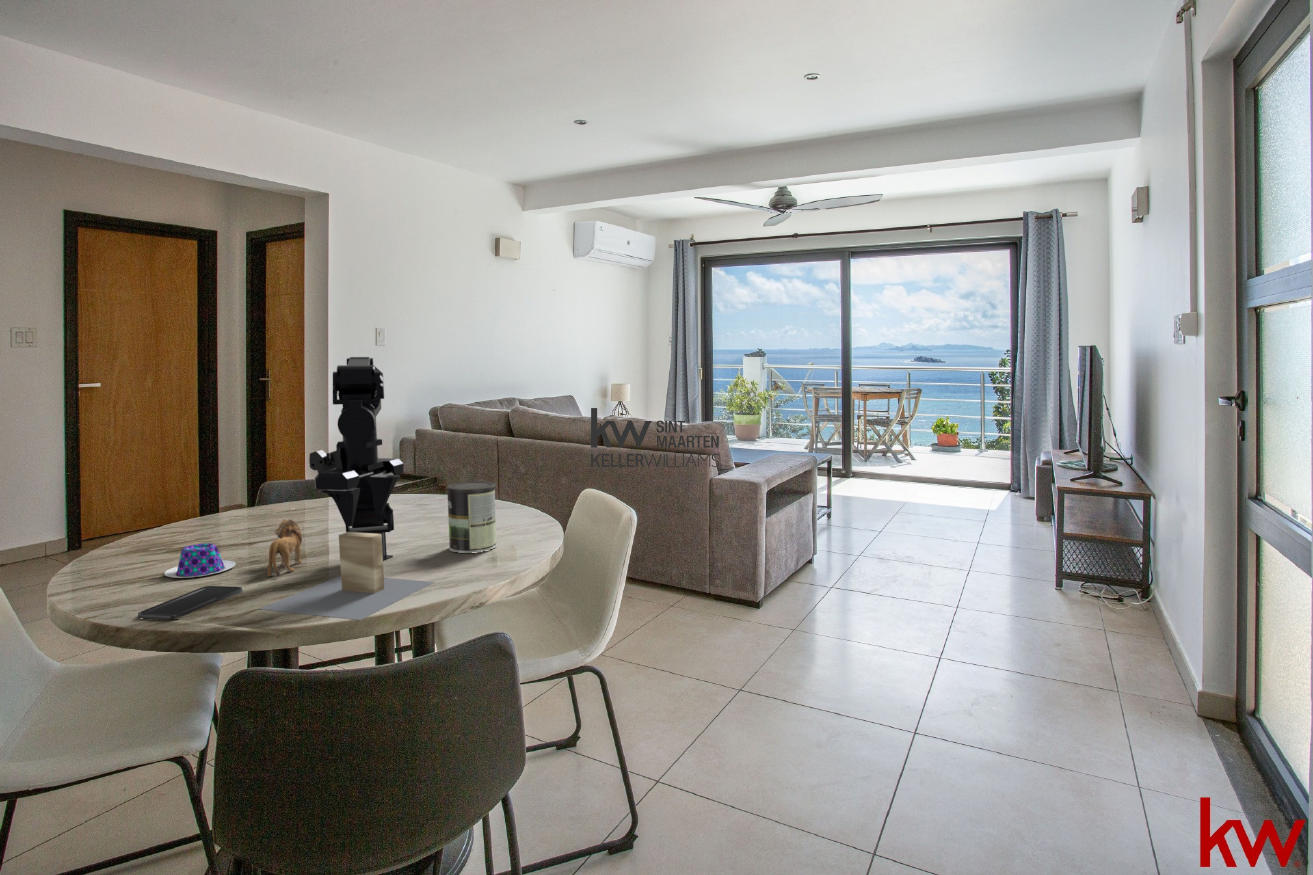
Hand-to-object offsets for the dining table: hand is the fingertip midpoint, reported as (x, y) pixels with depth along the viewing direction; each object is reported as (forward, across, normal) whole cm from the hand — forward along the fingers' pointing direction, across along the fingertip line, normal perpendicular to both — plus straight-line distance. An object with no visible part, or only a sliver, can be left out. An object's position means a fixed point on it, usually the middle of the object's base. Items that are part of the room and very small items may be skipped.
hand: (364, 519), depth 128 cm
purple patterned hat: (+13, -3, -39) cm, 41 cm away
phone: (+13, +15, -24) cm, 30 cm away
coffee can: (+13, -28, +8) cm, 31 cm away
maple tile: (+12, +4, +2) cm, 13 cm away
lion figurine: (+13, -7, -23) cm, 27 cm away
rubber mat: (+12, +7, +1) cm, 14 cm away
